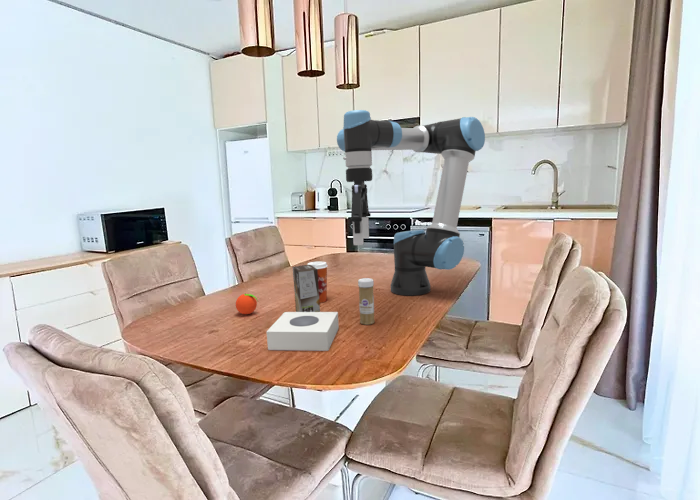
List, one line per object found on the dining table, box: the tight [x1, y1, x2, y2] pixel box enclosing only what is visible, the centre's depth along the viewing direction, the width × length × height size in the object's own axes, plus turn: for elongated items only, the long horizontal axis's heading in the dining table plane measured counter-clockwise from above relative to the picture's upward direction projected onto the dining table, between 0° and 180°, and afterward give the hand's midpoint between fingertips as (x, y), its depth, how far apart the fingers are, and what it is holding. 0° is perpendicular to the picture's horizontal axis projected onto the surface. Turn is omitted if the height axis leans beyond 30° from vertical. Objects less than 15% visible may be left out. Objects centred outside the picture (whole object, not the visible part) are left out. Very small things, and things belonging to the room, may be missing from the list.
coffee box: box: [292, 264, 321, 312], centre depth 131 cm, size 9×6×16 cm
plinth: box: [266, 311, 340, 352], centre depth 113 cm, size 16×16×5 cm
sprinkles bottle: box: [357, 277, 376, 326], centre depth 122 cm, size 5×5×13 cm
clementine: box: [235, 293, 259, 315], centre depth 137 cm, size 8×7×7 cm
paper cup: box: [306, 260, 329, 304], centre depth 148 cm, size 8×8×14 cm
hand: (361, 241), depth 120 cm, fingers open, 13 cm apart
